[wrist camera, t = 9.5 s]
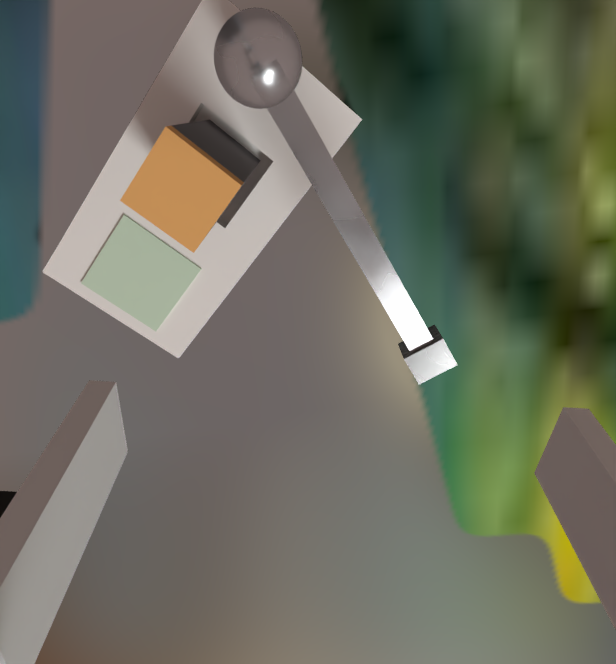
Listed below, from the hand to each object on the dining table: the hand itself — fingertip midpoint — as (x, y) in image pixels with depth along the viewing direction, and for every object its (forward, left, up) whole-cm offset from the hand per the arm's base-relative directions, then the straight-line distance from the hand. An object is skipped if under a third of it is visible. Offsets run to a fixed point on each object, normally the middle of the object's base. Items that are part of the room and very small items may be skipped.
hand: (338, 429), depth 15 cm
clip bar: (-5, 0, -10) cm, 11 cm away
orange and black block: (-4, -8, -22) cm, 23 cm away
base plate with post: (-1, -9, -23) cm, 24 cm away
